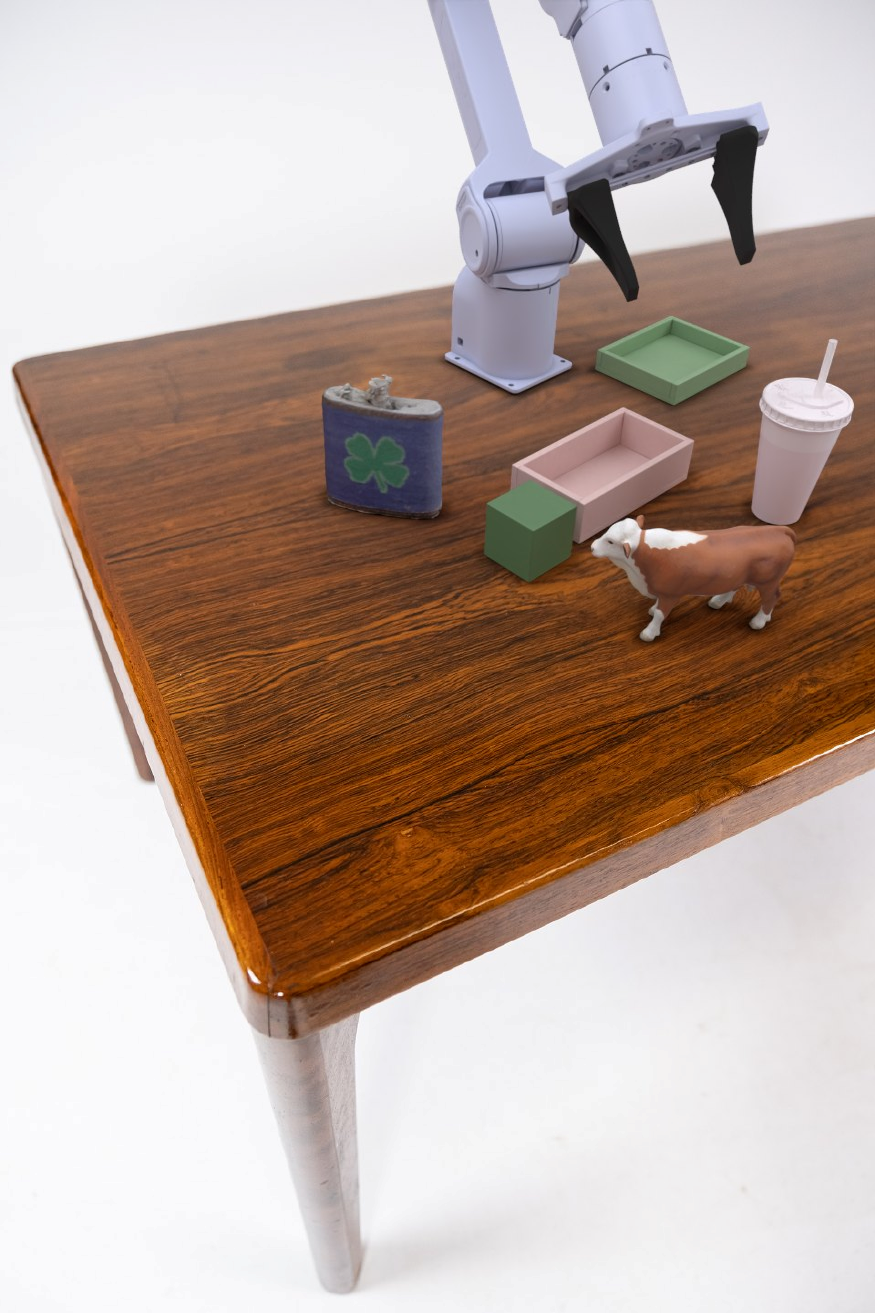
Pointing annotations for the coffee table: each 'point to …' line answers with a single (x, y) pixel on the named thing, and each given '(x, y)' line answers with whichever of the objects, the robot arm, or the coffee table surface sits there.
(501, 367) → the robot arm
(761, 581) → the bull figurine
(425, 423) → the flask
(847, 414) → the smoothie
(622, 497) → the pink tray
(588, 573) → the coffee table surface
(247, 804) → the coffee table surface
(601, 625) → the coffee table surface
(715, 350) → the green tray
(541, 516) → the green block
